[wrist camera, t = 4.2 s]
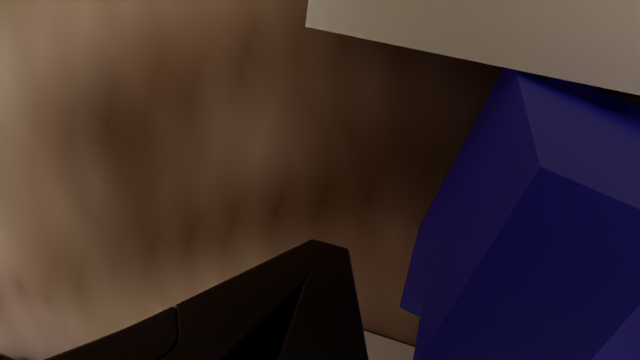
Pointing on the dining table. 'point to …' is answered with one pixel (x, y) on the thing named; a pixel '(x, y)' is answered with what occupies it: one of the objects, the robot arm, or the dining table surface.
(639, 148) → the cable clip
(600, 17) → the guide channel
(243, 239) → the dining table surface
